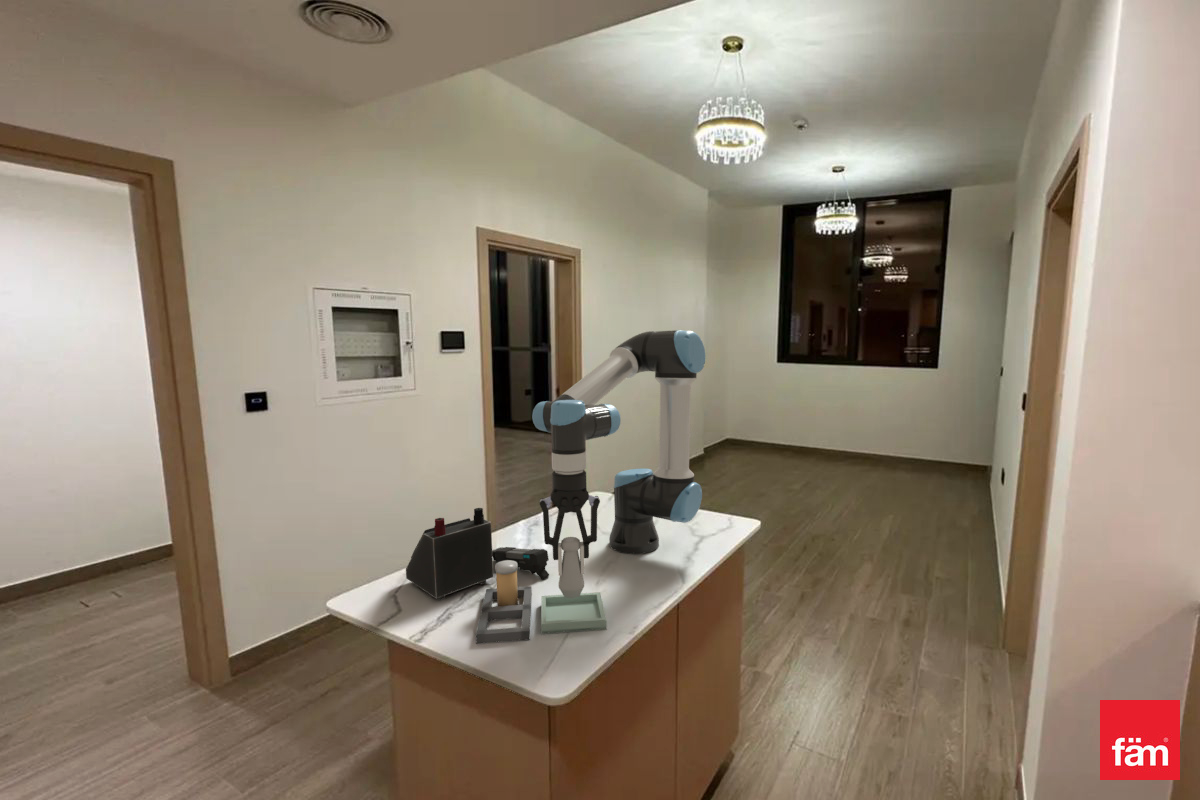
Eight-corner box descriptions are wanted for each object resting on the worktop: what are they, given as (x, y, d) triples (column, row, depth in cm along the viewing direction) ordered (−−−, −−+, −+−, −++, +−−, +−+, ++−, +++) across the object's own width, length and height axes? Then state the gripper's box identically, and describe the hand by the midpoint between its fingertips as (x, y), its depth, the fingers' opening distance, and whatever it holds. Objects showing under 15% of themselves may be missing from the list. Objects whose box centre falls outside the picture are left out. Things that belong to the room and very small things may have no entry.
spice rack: (531, 593, 134) (530, 554, 133) (529, 639, 113) (527, 593, 112) (486, 596, 133) (485, 556, 132) (476, 643, 112) (473, 596, 111)
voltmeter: (460, 564, 152) (457, 495, 150) (493, 582, 141) (490, 508, 139) (406, 583, 141) (401, 509, 139) (436, 604, 130) (432, 523, 127)
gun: (542, 581, 140) (532, 543, 141) (497, 586, 153) (488, 551, 154) (554, 576, 143) (544, 539, 144) (509, 580, 156) (500, 546, 157)
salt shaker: (558, 589, 124) (557, 534, 123) (583, 587, 125) (582, 533, 123) (559, 601, 118) (557, 543, 117) (585, 599, 119) (584, 542, 118)
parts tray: (600, 600, 129) (600, 592, 129) (606, 629, 117) (606, 619, 116) (541, 604, 128) (541, 595, 128) (541, 634, 115) (541, 624, 115)
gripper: (606, 465, 123) (607, 563, 126) (530, 468, 122) (532, 567, 124) (610, 472, 116) (611, 577, 118) (529, 476, 114) (532, 582, 117)
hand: (571, 572), depth 121 cm, fingers closed on salt shaker, 4 cm apart
